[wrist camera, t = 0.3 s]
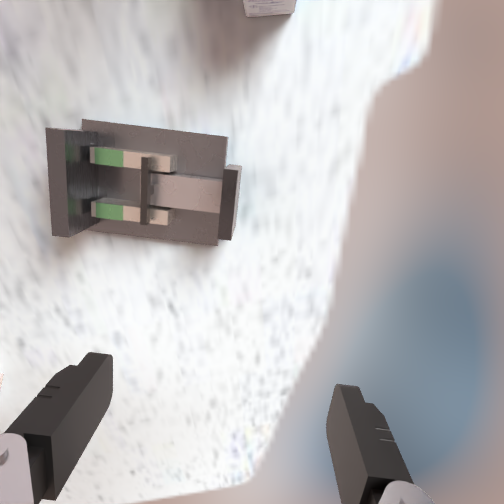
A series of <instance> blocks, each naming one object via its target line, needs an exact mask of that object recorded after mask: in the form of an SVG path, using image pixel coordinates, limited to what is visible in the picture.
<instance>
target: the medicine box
mask: <svg viewBox="0 0 504 504" xmlns="http://www.w3.org/2000/svg"><path fill="white" fill-rule="evenodd" d="M296 1H297V0H243V3H244V9H245V14H246V17H257V16H269V15H280V14H291V13H294V11H295V6H296Z"/></svg>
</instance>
